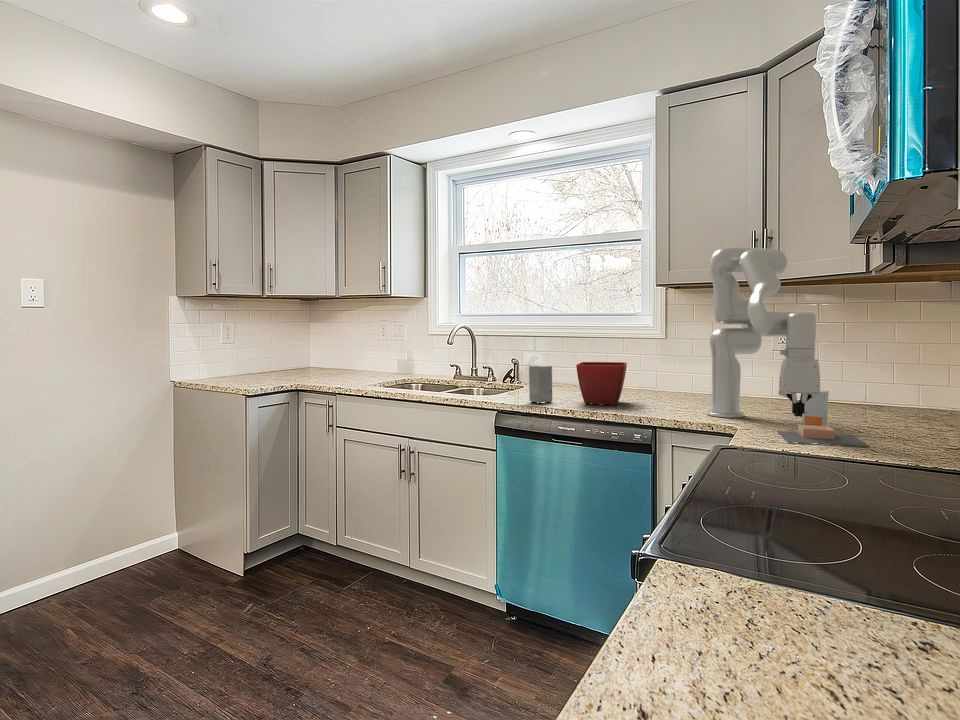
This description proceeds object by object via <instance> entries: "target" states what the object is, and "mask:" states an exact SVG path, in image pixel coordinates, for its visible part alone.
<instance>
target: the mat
mask: <svg viewBox="0 0 960 720" xmlns="http://www.w3.org/2000/svg"><path fill="white" fill-rule="evenodd" d="M777 432H778V433H779V434H780V435H781V436H782V437H783V438H784V439H785V440H786V441H787V442H798V443H818V444H830V445H829V446H831V445H844V446H843V447H849V446H859V447H858V448H866V447H871V445H870V444H867V443H866V442H864V441H863V440H861V439H859V438H858V437H856V436H854V435H853V434H841V433H835V439H821V438H803V437H802V436H801V435H800V434H798V431H787V430H786V431H783V430H777V431H776V433H777ZM778 433H777V434H778ZM779 434H778V435H779ZM780 435H779V436H780ZM781 436H780V437H781ZM782 437H781V438H782ZM783 438H782V439H783ZM784 439H783V440H784ZM785 440H784V441H785ZM786 441H785V442H786ZM787 442H786V443H787Z"/></svg>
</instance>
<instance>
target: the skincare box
mask: <svg viewBox="0 0 960 720" xmlns="http://www.w3.org/2000/svg"><path fill="white" fill-rule="evenodd" d="M819 393H820V396H819V397H814V398H810V399H809V400H808V401H807V402H806V403H805V411H804V414H802V425H812V426H828V413H829V412H828V410H829V409H828V408H829V393H830V392H829V390H821V389H820V391H819ZM808 394H810V393H808Z"/></svg>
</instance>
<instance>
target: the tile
mask: <svg viewBox="0 0 960 720" xmlns="http://www.w3.org/2000/svg"><path fill="white" fill-rule="evenodd" d="M797 432H798V434H800V435H801V436H802V437H803V438H821V439H835V434H836V430H835V429H833V428H832V427H830V426H829V425H827V426H812V425H803V424H798V425H797Z"/></svg>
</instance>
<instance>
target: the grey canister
mask: <svg viewBox="0 0 960 720" xmlns="http://www.w3.org/2000/svg"><path fill="white" fill-rule="evenodd" d="M528 379H529V380H528V381H529V382H528V383H529V388H528V389H529V392H528V393H529V395H528V396H529V398H528V399H529V402H530V401H533V402H539V403H541V402H548V401H552V402H553V365H529V366H528Z"/></svg>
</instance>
